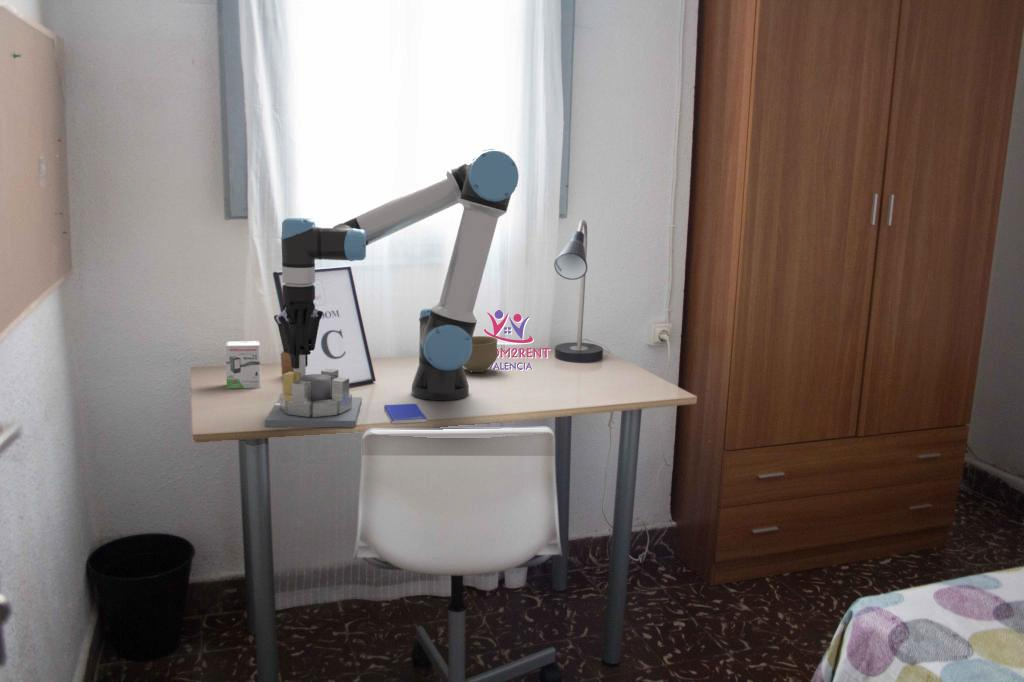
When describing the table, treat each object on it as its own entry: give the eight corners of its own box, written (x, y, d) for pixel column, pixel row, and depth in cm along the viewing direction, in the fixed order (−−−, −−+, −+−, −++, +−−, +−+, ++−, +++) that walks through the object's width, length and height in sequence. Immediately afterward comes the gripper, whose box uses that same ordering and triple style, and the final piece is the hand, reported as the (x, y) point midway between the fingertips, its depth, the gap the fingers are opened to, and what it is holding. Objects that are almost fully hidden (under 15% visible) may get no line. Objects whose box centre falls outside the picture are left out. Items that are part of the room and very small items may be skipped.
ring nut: (304, 395, 205) (304, 365, 203) (361, 402, 201) (361, 372, 199) (268, 411, 190) (267, 380, 189) (329, 419, 186) (328, 387, 184)
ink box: (226, 389, 214) (225, 345, 212) (227, 384, 219) (226, 341, 216) (260, 388, 217) (259, 344, 214) (260, 383, 221) (259, 340, 219)
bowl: (453, 366, 250) (454, 334, 248) (495, 367, 251) (496, 335, 249) (454, 376, 237) (455, 342, 235) (498, 377, 239) (499, 343, 237)
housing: (361, 402, 207) (361, 368, 205) (355, 427, 187) (355, 389, 185) (280, 402, 204) (279, 367, 203) (265, 426, 185) (264, 388, 183)
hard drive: (427, 417, 193) (416, 403, 205) (392, 419, 191) (384, 404, 202) (426, 424, 194) (416, 409, 205) (392, 425, 191) (384, 410, 203)
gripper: (310, 280, 201) (310, 373, 206) (265, 284, 191) (267, 382, 195) (330, 283, 196) (330, 378, 201) (286, 288, 186) (287, 388, 191)
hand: (299, 380), depth 198 cm, fingers closed
